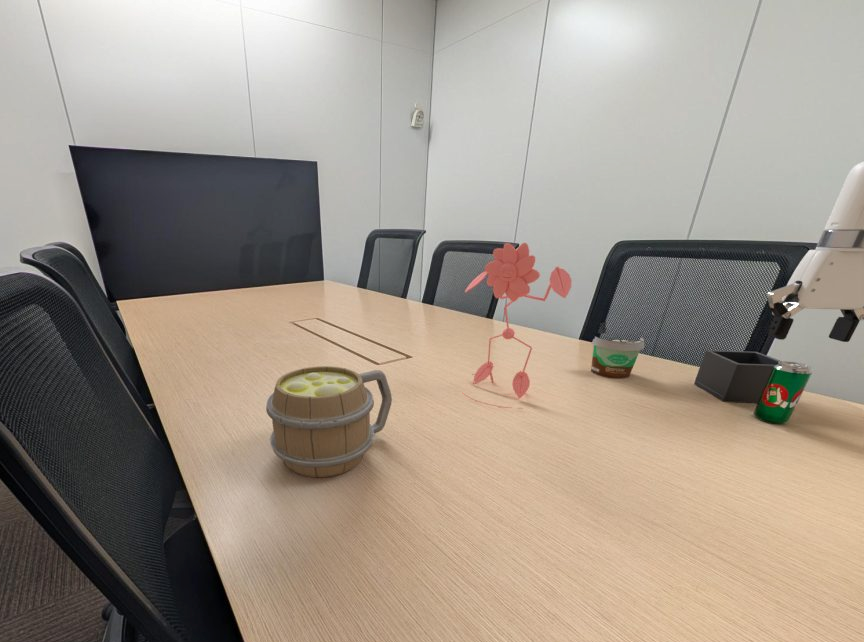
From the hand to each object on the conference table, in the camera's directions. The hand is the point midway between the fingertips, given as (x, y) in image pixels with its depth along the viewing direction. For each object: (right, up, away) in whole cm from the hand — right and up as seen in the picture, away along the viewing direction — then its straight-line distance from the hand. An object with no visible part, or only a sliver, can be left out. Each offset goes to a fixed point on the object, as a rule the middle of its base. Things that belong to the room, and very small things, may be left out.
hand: (806, 338), depth 70 cm
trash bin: (+5, -11, +19) cm, 22 cm away
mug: (-88, -21, +1) cm, 91 cm away
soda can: (+1, -16, +7) cm, 18 cm away
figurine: (-51, -11, +22) cm, 57 cm away
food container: (-14, -6, +31) cm, 35 cm away
